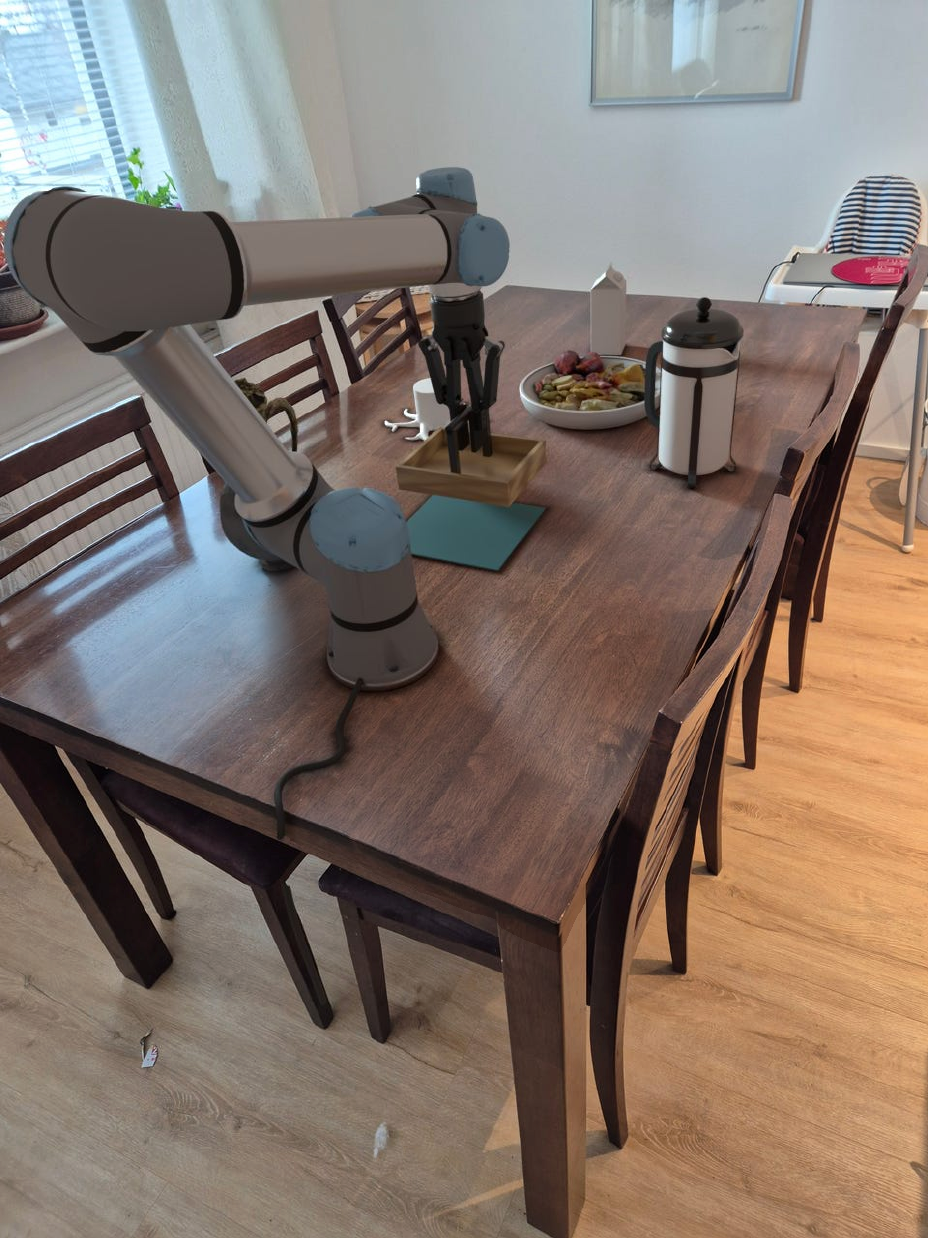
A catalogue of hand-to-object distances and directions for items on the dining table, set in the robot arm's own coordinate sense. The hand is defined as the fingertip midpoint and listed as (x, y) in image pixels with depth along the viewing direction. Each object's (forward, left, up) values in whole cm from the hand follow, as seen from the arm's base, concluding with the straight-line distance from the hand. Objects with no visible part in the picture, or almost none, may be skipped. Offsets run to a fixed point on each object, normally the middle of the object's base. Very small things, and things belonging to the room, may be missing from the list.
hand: (470, 447), depth 134 cm
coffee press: (+31, -27, -15) cm, 44 cm away
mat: (0, +2, -15) cm, 15 cm away
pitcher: (-16, +27, -15) cm, 35 cm away
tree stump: (+37, +27, -15) cm, 49 cm away
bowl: (+53, -2, -15) cm, 55 cm away
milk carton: (+84, +5, -15) cm, 86 cm away
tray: (0, 0, -5) cm, 5 cm away
